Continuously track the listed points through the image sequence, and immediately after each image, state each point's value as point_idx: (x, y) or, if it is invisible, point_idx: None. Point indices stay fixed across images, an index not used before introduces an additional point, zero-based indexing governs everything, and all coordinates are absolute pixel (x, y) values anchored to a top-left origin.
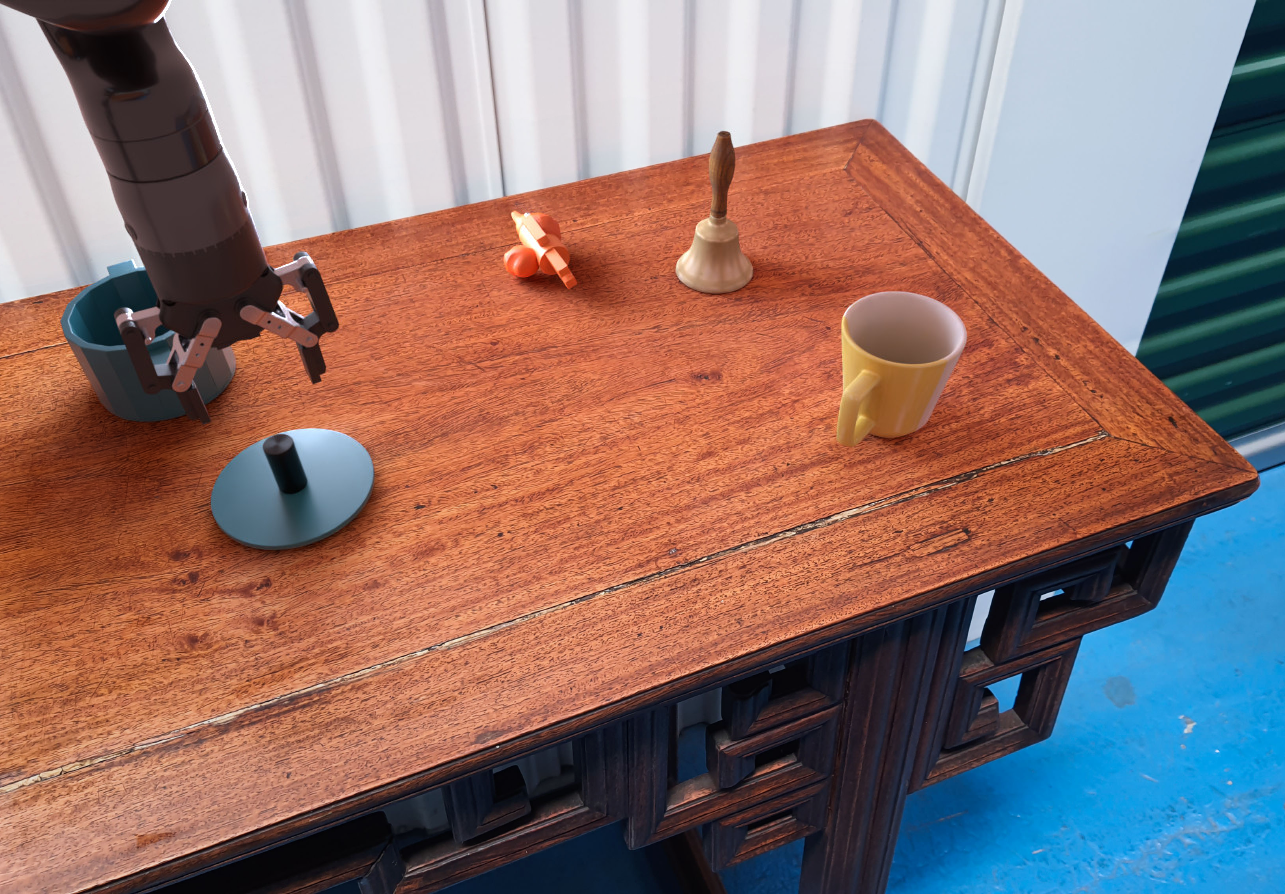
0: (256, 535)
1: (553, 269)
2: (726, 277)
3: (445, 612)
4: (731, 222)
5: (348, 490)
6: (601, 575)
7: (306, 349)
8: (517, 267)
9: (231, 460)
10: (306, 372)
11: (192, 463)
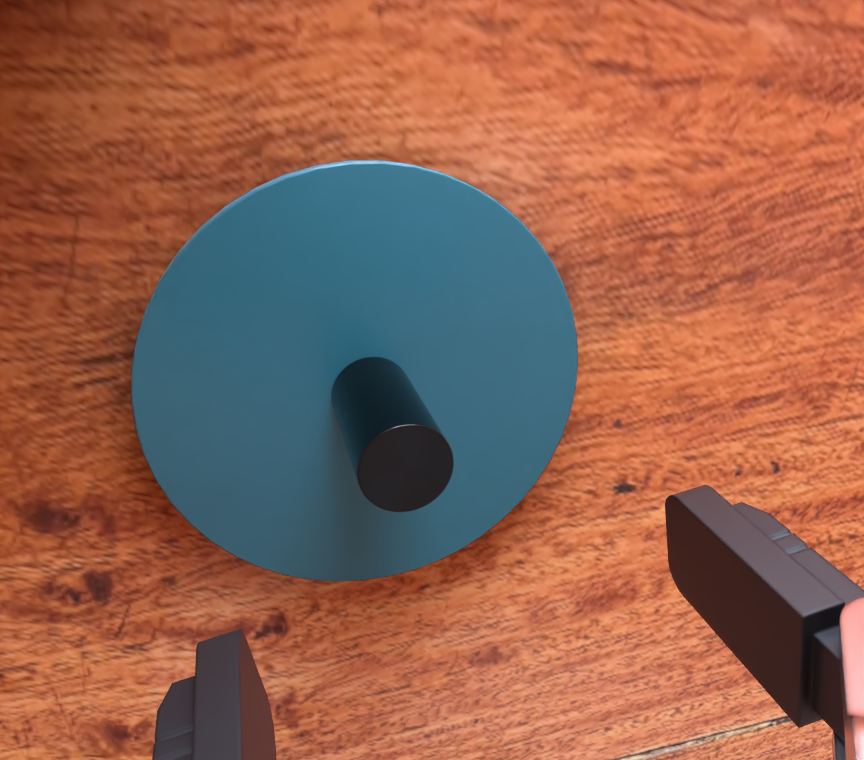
0: (266, 544)
1: None
2: None
3: (592, 721)
4: None
5: (503, 451)
6: None
7: (817, 720)
8: None
9: (188, 245)
10: (667, 502)
11: (36, 160)
